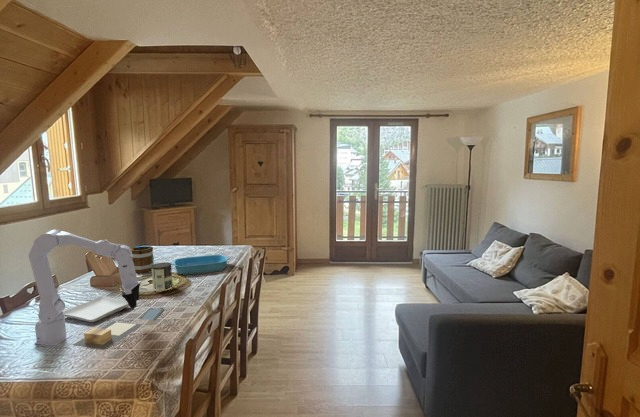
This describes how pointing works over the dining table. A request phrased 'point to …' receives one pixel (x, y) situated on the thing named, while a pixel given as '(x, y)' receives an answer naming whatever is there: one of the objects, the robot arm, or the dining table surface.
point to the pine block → (97, 336)
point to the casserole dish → (200, 264)
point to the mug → (142, 258)
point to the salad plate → (96, 309)
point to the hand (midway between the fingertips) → (134, 303)
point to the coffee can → (162, 276)
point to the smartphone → (152, 314)
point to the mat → (117, 333)
